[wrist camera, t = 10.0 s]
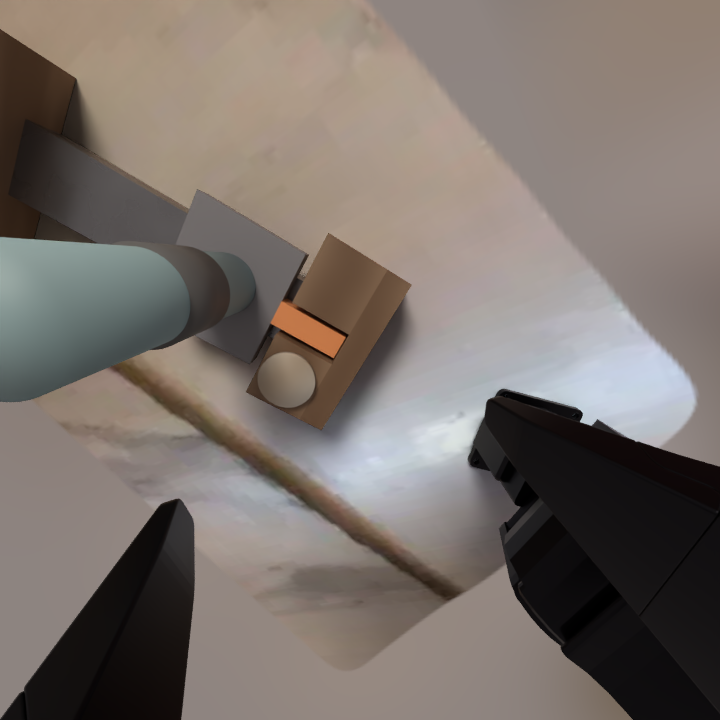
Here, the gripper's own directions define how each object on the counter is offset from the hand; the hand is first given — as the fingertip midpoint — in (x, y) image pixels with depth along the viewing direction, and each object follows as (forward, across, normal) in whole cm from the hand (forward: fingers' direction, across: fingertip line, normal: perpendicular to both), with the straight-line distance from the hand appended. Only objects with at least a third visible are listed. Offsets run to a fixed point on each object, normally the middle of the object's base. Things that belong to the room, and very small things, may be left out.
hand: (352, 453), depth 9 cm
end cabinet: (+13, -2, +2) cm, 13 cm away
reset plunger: (+11, -1, +1) cm, 11 cm away
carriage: (+13, +3, -2) cm, 13 cm away
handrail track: (+16, +5, -4) cm, 17 cm away
